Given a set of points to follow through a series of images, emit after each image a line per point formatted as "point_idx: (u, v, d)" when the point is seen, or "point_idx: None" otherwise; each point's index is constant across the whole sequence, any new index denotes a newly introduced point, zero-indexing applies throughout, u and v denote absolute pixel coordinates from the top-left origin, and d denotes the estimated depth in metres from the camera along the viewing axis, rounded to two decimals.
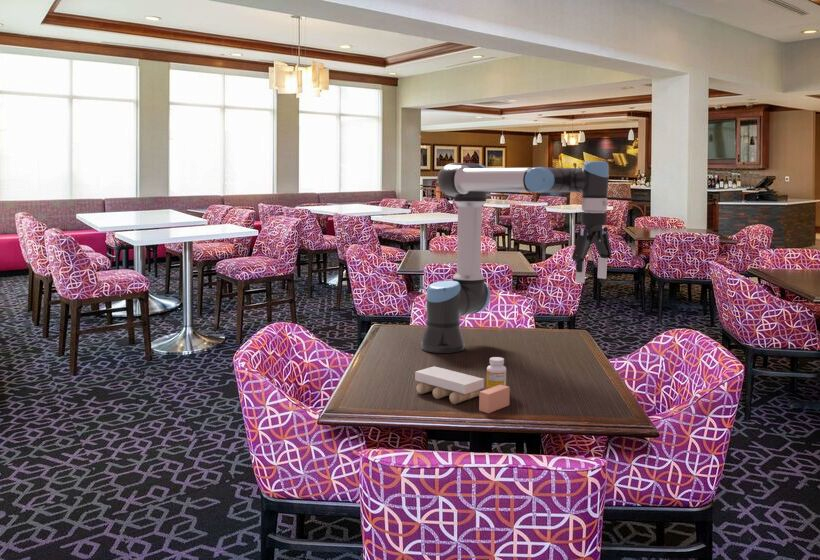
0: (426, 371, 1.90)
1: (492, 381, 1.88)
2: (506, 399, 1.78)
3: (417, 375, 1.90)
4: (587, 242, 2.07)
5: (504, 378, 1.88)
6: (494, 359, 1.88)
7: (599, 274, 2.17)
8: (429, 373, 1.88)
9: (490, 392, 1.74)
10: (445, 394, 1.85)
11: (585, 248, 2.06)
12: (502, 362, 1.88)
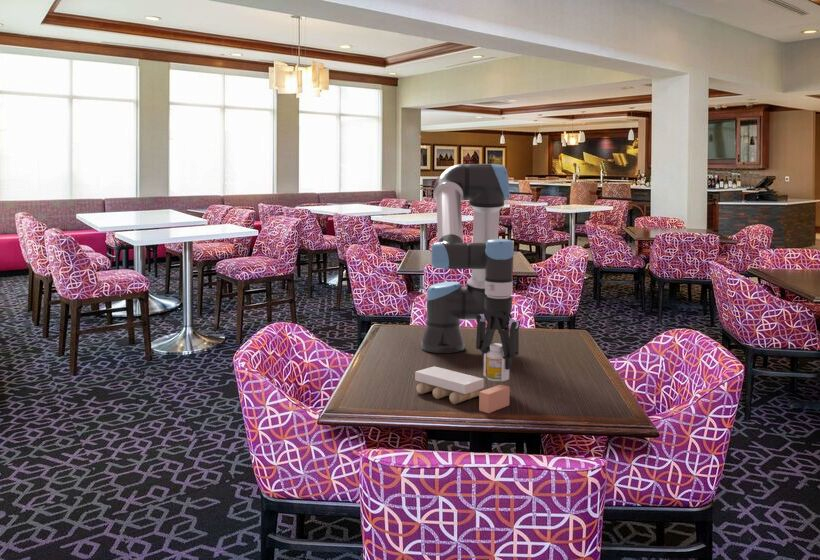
0: (426, 371, 1.90)
1: (492, 367, 1.88)
2: (506, 399, 1.78)
3: (417, 375, 1.90)
4: None
5: None
6: (494, 345, 1.88)
7: None
8: (429, 373, 1.88)
9: (490, 392, 1.74)
10: (445, 394, 1.85)
11: None
12: (502, 348, 1.88)
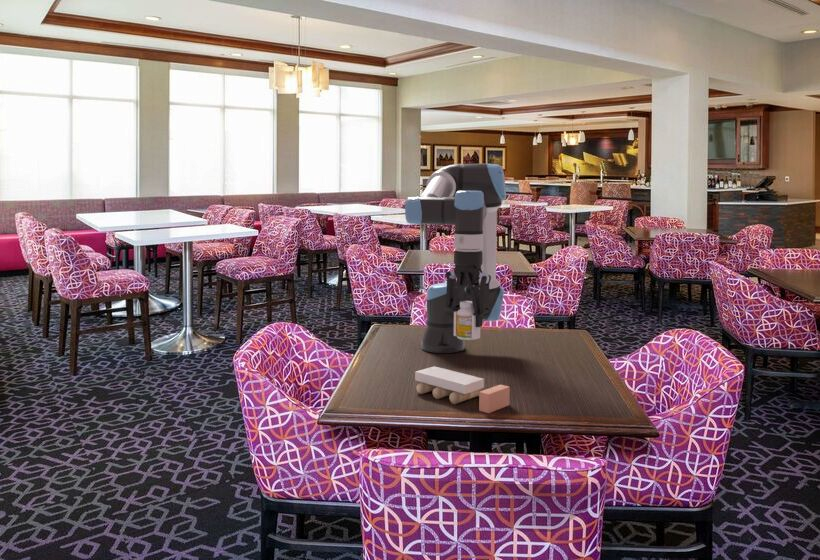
0: (426, 371, 1.90)
1: (462, 325, 1.79)
2: (506, 399, 1.78)
3: (417, 375, 1.90)
4: None
5: None
6: (464, 302, 1.79)
7: None
8: (429, 373, 1.88)
9: (490, 392, 1.74)
10: (445, 394, 1.85)
11: None
12: None
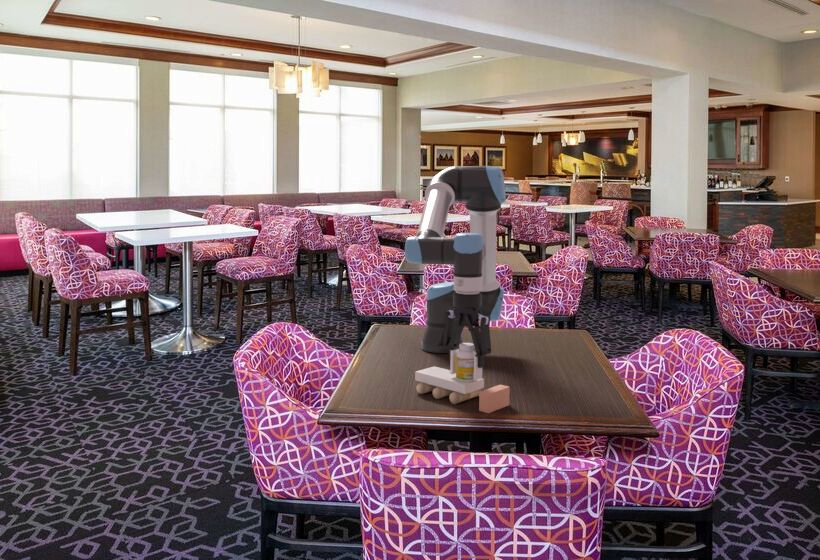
0: (426, 371, 1.90)
1: (462, 367, 1.80)
2: (506, 399, 1.78)
3: (417, 375, 1.90)
4: None
5: None
6: (464, 344, 1.81)
7: None
8: (429, 373, 1.88)
9: (490, 392, 1.74)
10: (445, 394, 1.85)
11: None
12: (472, 348, 1.81)
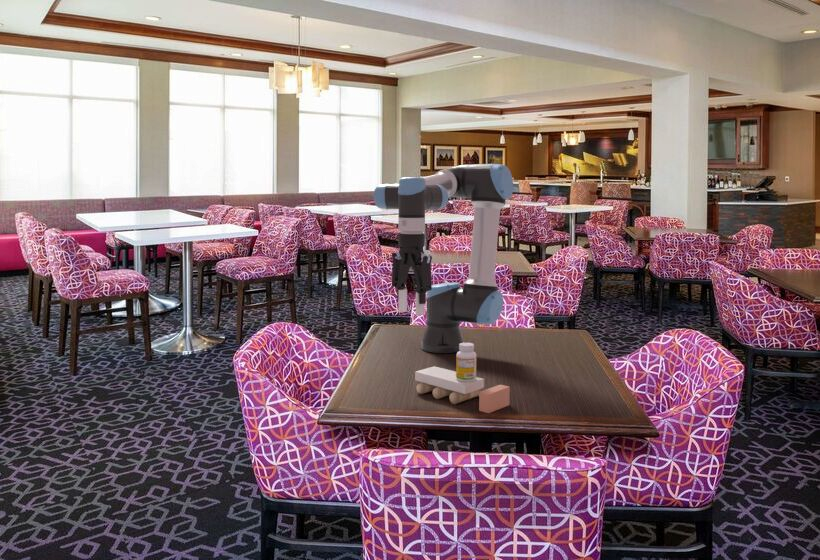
0: (426, 371, 1.90)
1: (462, 367, 1.80)
2: (506, 399, 1.78)
3: (417, 375, 1.90)
4: None
5: (474, 364, 1.81)
6: (464, 344, 1.81)
7: None
8: (429, 373, 1.88)
9: (490, 392, 1.74)
10: (445, 394, 1.85)
11: None
12: (472, 347, 1.81)
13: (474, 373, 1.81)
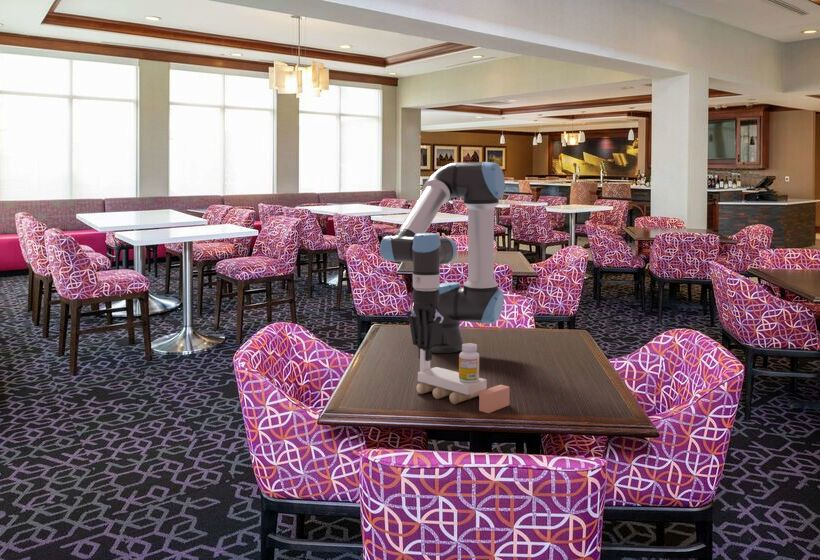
0: (429, 372, 1.90)
1: (464, 368, 1.80)
2: (506, 399, 1.78)
3: (420, 376, 1.89)
4: None
5: (477, 365, 1.80)
6: (466, 345, 1.81)
7: None
8: (431, 374, 1.88)
9: (490, 392, 1.74)
10: (445, 394, 1.85)
11: None
12: (475, 348, 1.80)
13: (477, 374, 1.81)
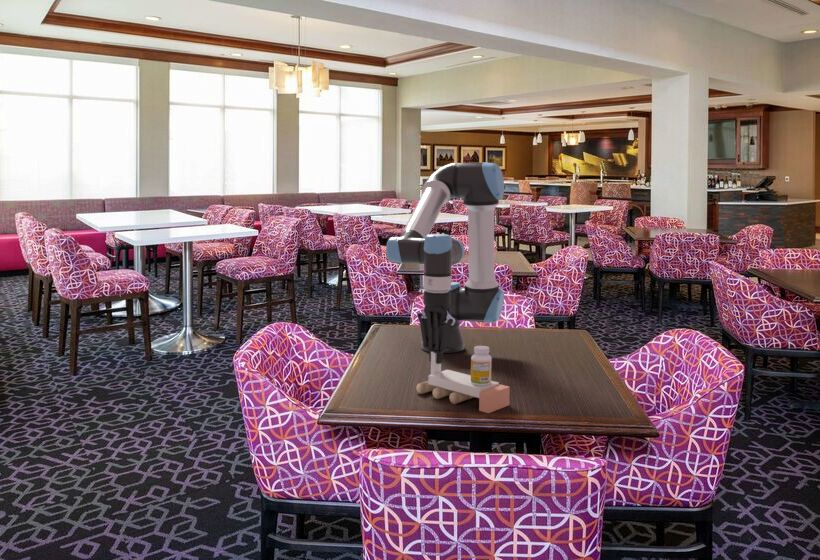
0: (440, 375, 1.87)
1: (476, 371, 1.77)
2: (506, 399, 1.78)
3: (430, 379, 1.87)
4: None
5: (489, 368, 1.78)
6: (479, 348, 1.78)
7: None
8: (442, 377, 1.85)
9: (490, 392, 1.74)
10: (445, 394, 1.85)
11: None
12: (487, 351, 1.77)
13: (489, 377, 1.78)
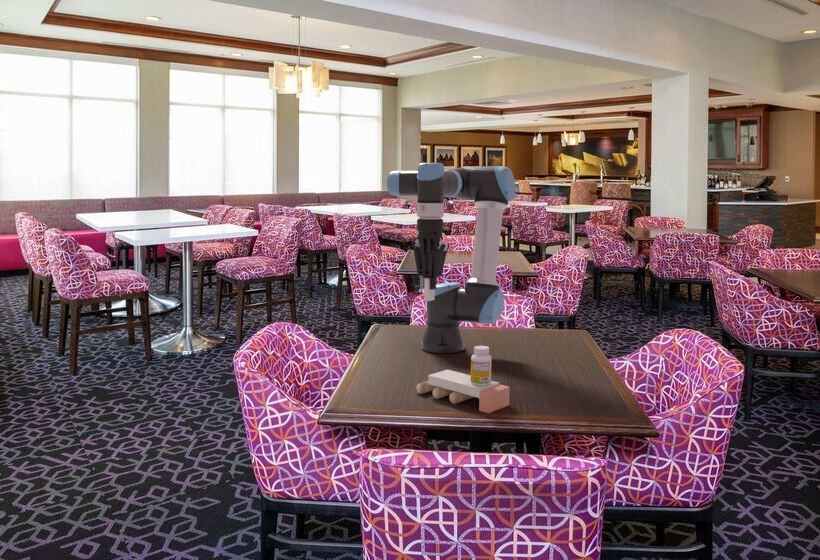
0: (440, 375, 1.87)
1: (476, 371, 1.77)
2: (506, 399, 1.78)
3: (430, 379, 1.87)
4: None
5: (489, 368, 1.78)
6: (479, 348, 1.78)
7: None
8: (442, 377, 1.85)
9: (490, 392, 1.74)
10: (445, 394, 1.85)
11: None
12: (487, 351, 1.77)
13: (489, 377, 1.78)
